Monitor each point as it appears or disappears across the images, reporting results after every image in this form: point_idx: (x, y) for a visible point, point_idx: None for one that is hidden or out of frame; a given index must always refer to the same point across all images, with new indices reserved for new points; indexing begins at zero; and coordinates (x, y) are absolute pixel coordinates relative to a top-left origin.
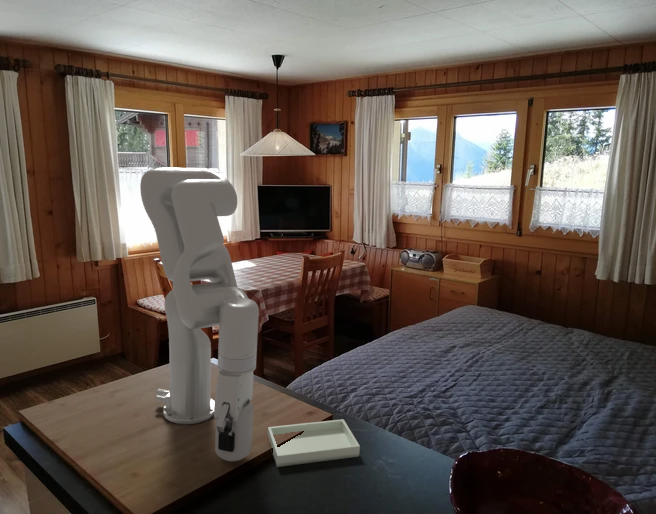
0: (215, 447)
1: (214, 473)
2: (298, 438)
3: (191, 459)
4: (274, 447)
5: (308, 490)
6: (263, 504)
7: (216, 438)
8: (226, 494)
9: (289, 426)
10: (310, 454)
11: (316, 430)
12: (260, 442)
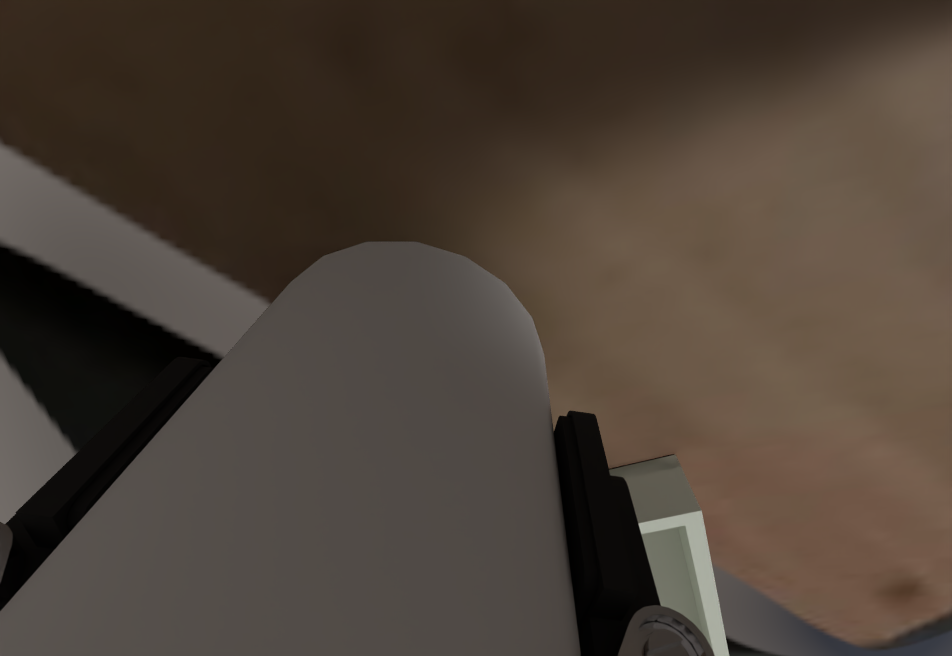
0: (314, 271)
1: (245, 246)
2: None
3: (343, 3)
4: None
5: None
6: None
7: (247, 340)
8: (107, 354)
9: (700, 592)
10: None
11: (701, 630)
12: (619, 429)
